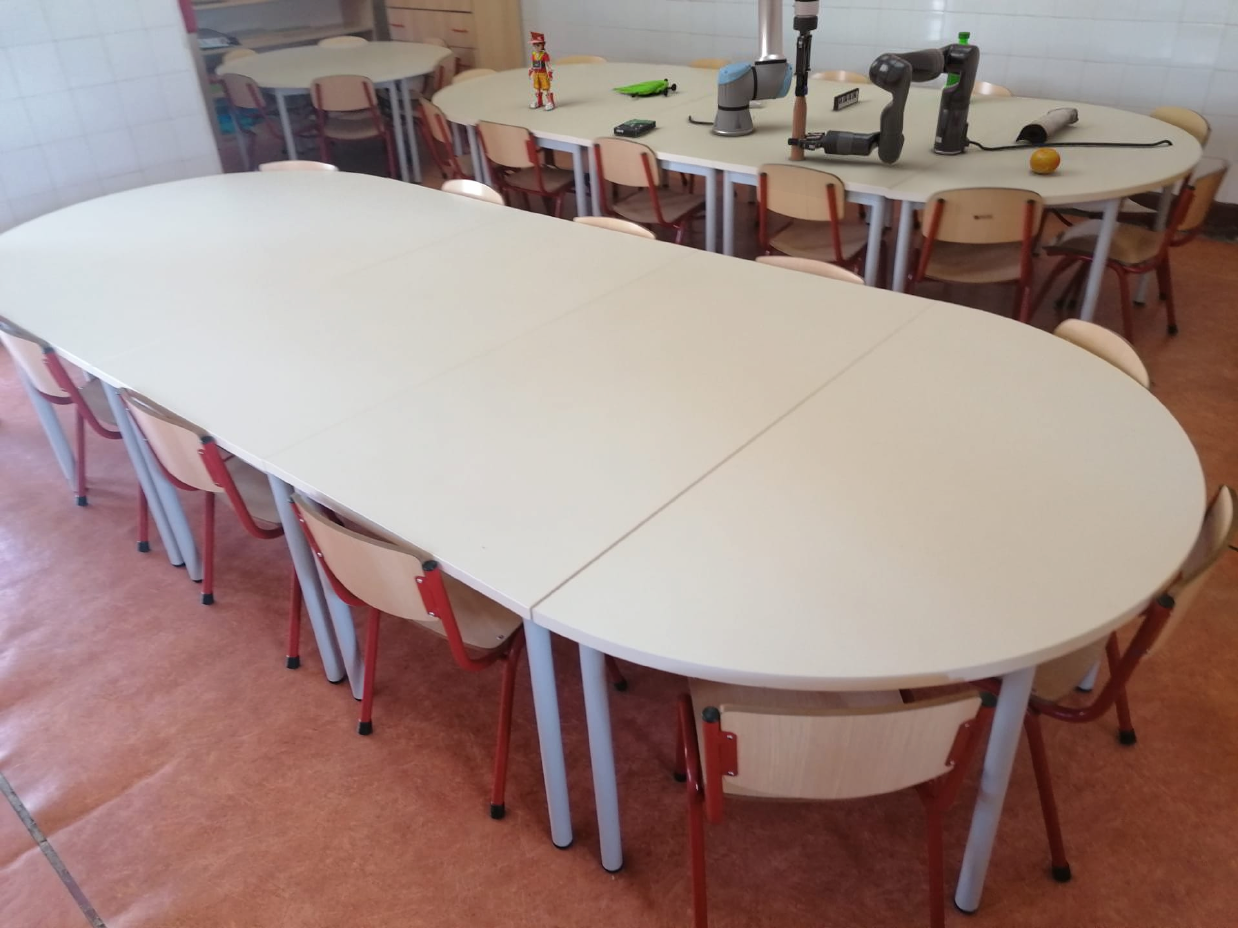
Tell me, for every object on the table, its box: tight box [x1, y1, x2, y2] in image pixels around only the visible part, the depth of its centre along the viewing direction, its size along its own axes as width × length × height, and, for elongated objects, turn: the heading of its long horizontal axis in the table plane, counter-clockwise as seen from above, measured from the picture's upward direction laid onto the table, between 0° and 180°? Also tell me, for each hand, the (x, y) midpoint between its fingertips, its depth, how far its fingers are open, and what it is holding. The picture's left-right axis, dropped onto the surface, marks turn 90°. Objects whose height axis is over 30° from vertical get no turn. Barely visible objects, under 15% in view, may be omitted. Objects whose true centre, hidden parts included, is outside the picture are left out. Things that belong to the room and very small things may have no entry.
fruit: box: [1029, 147, 1062, 174], centre depth 277 cm, size 8×8×8 cm
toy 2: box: [612, 78, 677, 99], centre depth 396 cm, size 28×5×30 cm
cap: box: [794, 85, 809, 96], centre depth 292 cm, size 4×4×2 cm
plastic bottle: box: [943, 31, 971, 88], centre depth 348 cm, size 10×10×25 cm
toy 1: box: [527, 31, 556, 111], centre depth 374 cm, size 12×9×30 cm
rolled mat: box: [1014, 107, 1080, 144], centre depth 311 cm, size 30×9×10 cm
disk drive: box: [613, 118, 657, 138], centre depth 342 cm, size 10×3×15 cm
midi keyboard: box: [832, 87, 860, 111], centre depth 357 cm, size 18×1×5 cm, turn 138°
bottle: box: [790, 95, 808, 162], centre depth 298 cm, size 4×4×23 cm
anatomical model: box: [749, 100, 763, 109], centre depth 366 cm, size 15×10×10 cm
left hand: (801, 94), depth 293 cm, fingers closed on cap, 4 cm apart
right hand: (790, 139), depth 302 cm, fingers closed on bottle, 4 cm apart
